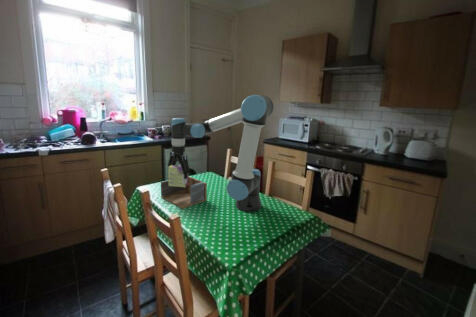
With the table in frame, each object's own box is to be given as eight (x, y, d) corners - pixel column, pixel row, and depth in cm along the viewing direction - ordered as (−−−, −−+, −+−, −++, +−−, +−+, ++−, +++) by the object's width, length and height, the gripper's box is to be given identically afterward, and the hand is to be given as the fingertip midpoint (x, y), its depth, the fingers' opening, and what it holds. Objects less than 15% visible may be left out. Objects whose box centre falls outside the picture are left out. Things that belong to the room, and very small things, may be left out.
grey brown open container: (206, 200, 157) (206, 181, 154) (182, 208, 143) (182, 188, 141) (185, 190, 171) (184, 173, 168) (161, 197, 158) (160, 178, 155)
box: (188, 184, 155) (188, 165, 152) (185, 187, 149) (185, 168, 146) (171, 183, 155) (171, 164, 153) (168, 186, 150) (168, 167, 147)
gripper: (196, 148, 141) (196, 184, 147) (172, 141, 157) (172, 175, 162) (185, 149, 136) (185, 187, 141) (161, 142, 151) (162, 177, 157)
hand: (178, 181), depth 152 cm, fingers closed on box, 11 cm apart
